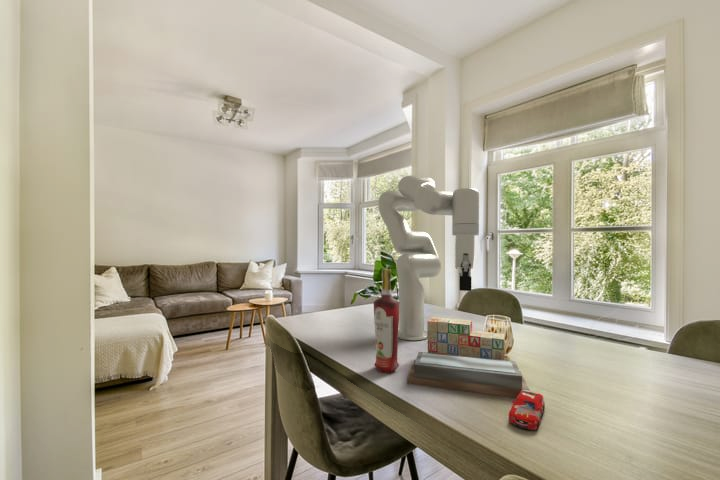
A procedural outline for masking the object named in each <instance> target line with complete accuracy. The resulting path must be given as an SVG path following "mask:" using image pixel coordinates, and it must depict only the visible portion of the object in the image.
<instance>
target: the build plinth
mask: <svg viewBox="0 0 720 480" xmlns="http://www.w3.org/2000/svg"><path fill="white" fill-rule="evenodd" d="M406 378H407V382H406V383H407V385H414V386H415V385H416V386H420V387H430V388H437V389H444V390H453V391H460V392H470V393H475V394H485V395H492V396H500V397H508V398H515V399H517V397H518V395H519V394H520V392H521V391H522V390H528V391H531V390H530V388H529V386H528V384H527V382H526V380H525V378H524V376H523V374H522V372H521V370H520V368H519V367H518V365H517V362H516V361H515V360H506V359H505V360H497V359H487V358H476V357H466V356H456V355H446V354H435V353H428V352H424V351H422V352H421V351H418V353H417V357H416V358H415V359H414V360H413V362H412V364H411V367H410V370H409V373H408V376H407V377H406Z"/></svg>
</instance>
